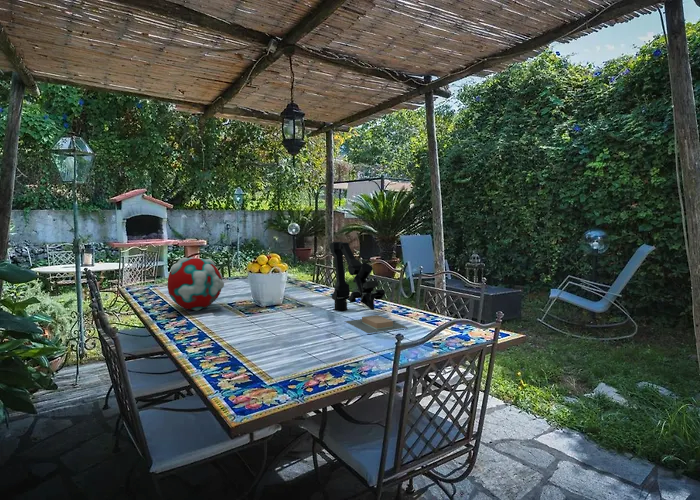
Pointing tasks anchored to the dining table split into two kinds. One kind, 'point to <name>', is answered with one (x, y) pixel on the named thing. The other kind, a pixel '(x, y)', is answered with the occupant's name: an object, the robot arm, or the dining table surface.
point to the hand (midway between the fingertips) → (373, 309)
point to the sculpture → (194, 283)
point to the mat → (369, 329)
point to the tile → (377, 322)
